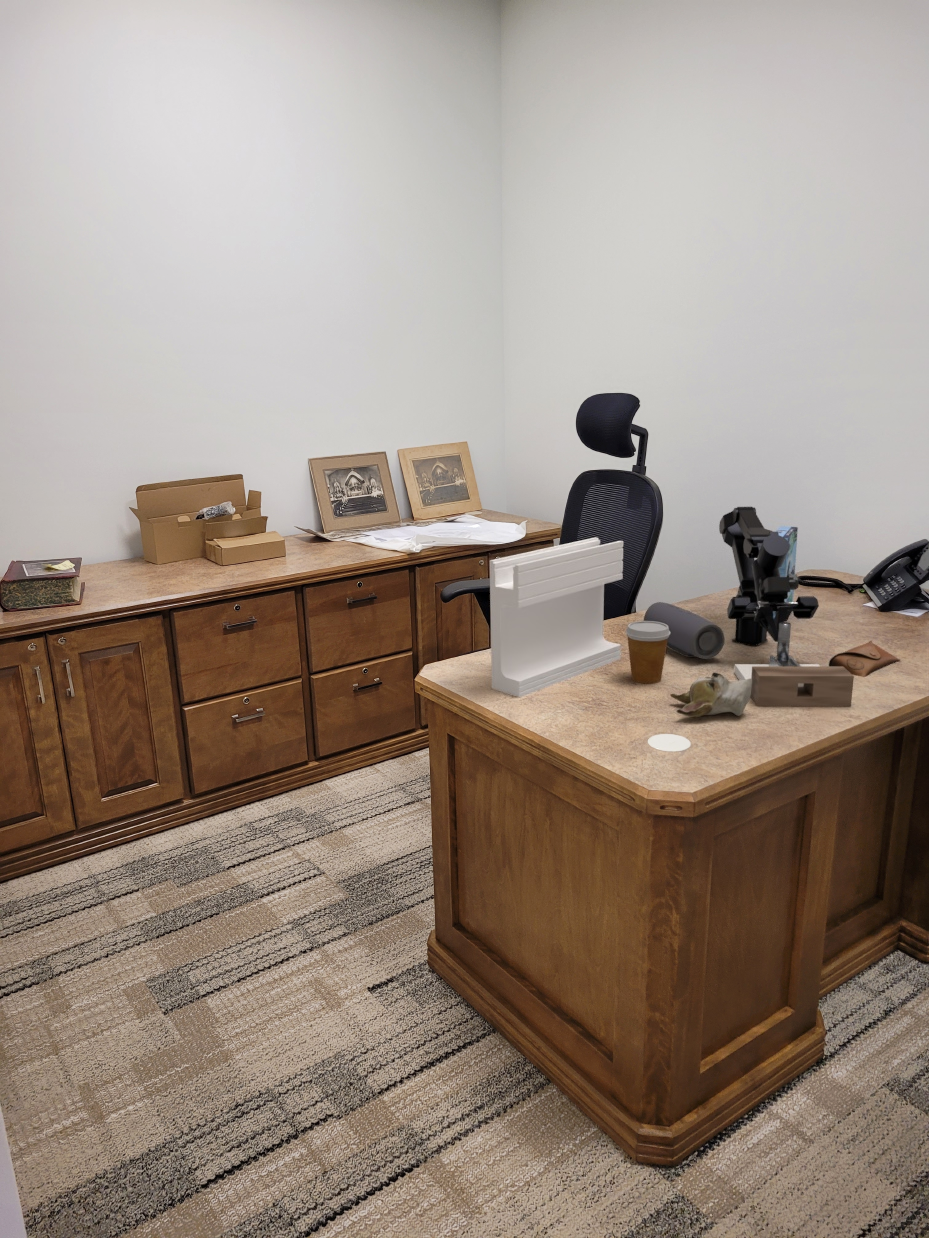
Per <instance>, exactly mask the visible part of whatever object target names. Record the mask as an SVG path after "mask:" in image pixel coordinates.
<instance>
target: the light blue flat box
mask: <svg viewBox="0 0 929 1238" xmlns="http://www.w3.org/2000/svg"><path fill="white" fill-rule="evenodd" d="M798 530H799V527H797V526H779V527H778V529H776V531H775V532H778V533H779V536H782V537H784V538H785V539H786V540H787V541H788V542H789V544H790V549H789V551H788V554H787V556H786V558H785V560H784V563H783V565H782V566H781V567H780V568H779V572H780V577H787V576H788V575H789V574H796V563H797V562H796V560H797V559H796V557H797V544H798ZM794 592H795V590H790V592H788V598H787V599H784V600H785V602H794V595H795V593H794ZM775 616H776V615H775V612H773V618H775Z"/></svg>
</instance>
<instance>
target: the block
mask: <svg viewBox="0 0 929 1238" xmlns="http://www.w3.org/2000/svg"><path fill="white" fill-rule="evenodd" d="M623 547H624V541H623V540H618V541H613V542H609V543H604V544H601V539H599V537H591V538H587V539H582V540H578V541H573V542H569V543H564V544H558V545H555V546H554V545H553V546H549V547H545V548H541V549H535V550H532V551H528V552H523V553H522V552H521V553H517V554H514V555H513V554H512V555H509V556H503V557H499V558H495V559H490V560H489V593H490V594H489V600H490V601H489V602H490V603H489V604H490V605H489V607H490V653H491V654H490V655H491V656H490V659H491V661H490V662H491V663H490V664H491V689H492V690H494V691H499V692H501V693H504V694H508V695H511V696H515V697H516V698H521V697H524V696H527V695H529V694H532V693H535V692H537V691H540V690H543V689H545V688H548V687H550V686H553V685H555V684H559V683H561V682H564V681H566V680H569V679H571V678H574V677H577V676H580V675H582V674H585V673H587V672H591V671H593V670H595V669H598V668H601V667H603V666H606V665H609V664H611V663H613V662H616V661H619V660H621V659H622V656H621V655H622V650H621V649H622V645H621V644H619V643H615V642H611V641H608V640H607V639H605V637H604V606H605V603H604V602H605V601H604V600H605V584H610V583H613V582H617V581H620V580H623V579H624V578H623V575H624V573H623V571H624V561H623V560H624V548H623Z"/></svg>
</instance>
